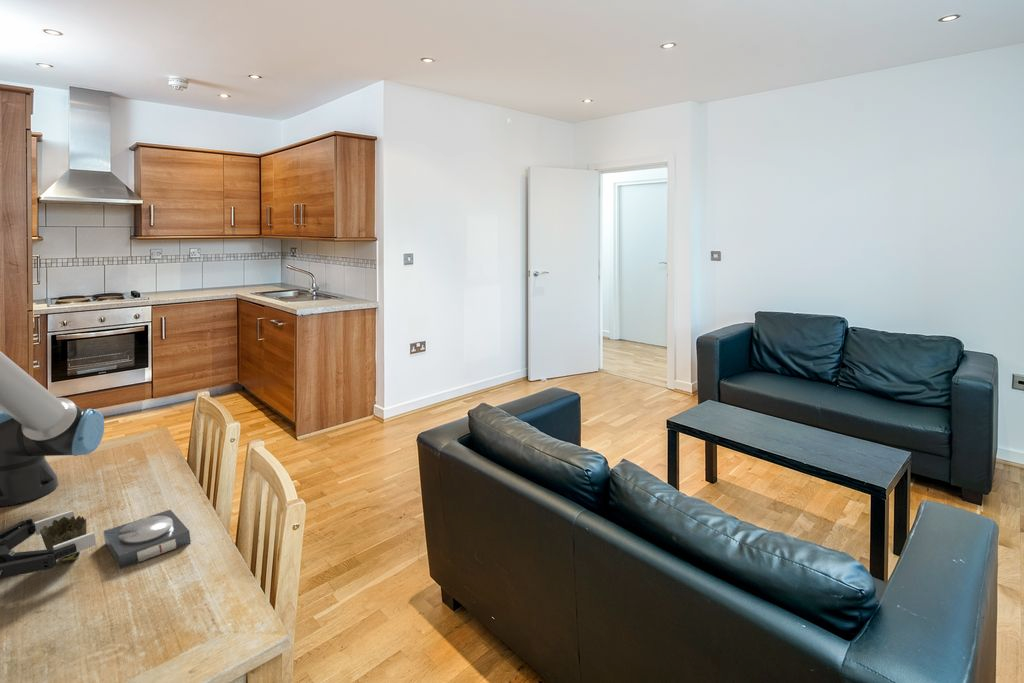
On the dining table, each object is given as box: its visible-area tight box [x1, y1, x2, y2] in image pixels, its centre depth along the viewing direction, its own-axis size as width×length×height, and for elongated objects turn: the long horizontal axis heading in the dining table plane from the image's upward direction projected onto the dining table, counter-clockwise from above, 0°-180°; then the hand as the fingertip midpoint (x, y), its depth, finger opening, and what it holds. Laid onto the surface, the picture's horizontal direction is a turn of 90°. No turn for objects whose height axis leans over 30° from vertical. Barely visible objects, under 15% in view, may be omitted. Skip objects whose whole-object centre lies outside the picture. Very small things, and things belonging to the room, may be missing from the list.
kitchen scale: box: [103, 509, 191, 569], centre depth 120 cm, size 14×13×4 cm
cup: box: [40, 515, 87, 564], centre depth 114 cm, size 8×7×8 cm
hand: (84, 526), depth 116 cm, fingers open, 13 cm apart
